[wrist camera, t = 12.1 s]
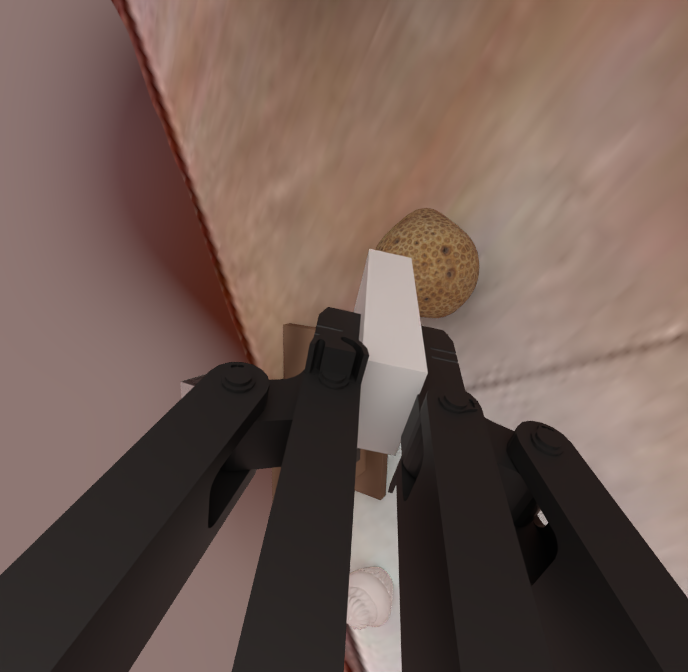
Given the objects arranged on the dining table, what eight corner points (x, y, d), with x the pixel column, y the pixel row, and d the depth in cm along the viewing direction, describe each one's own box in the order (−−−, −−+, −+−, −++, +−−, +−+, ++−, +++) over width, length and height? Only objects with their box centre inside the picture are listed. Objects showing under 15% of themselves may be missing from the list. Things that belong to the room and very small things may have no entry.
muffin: (380, 610, 53) (348, 654, 47) (350, 565, 55) (315, 602, 49) (414, 594, 50) (384, 639, 44) (381, 546, 51) (348, 584, 46)
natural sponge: (443, 332, 42) (396, 353, 34) (387, 264, 45) (329, 269, 37) (518, 266, 38) (483, 273, 30) (451, 194, 40) (401, 182, 32)
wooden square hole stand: (392, 340, 46) (324, 366, 36) (385, 495, 50) (322, 556, 40) (289, 323, 53) (210, 341, 44) (290, 459, 57) (217, 503, 48)
